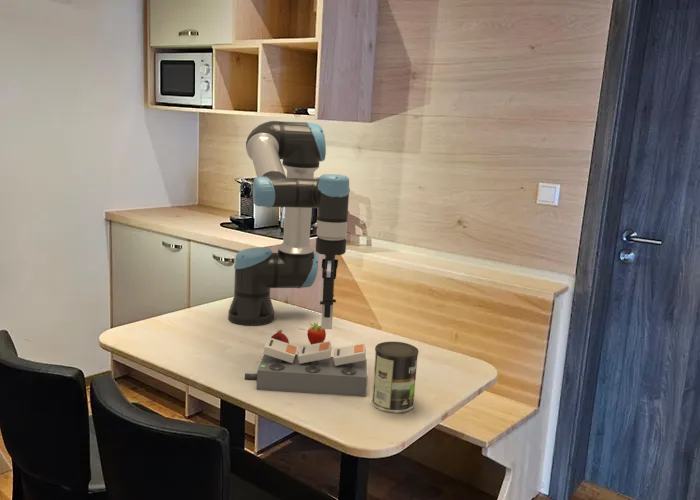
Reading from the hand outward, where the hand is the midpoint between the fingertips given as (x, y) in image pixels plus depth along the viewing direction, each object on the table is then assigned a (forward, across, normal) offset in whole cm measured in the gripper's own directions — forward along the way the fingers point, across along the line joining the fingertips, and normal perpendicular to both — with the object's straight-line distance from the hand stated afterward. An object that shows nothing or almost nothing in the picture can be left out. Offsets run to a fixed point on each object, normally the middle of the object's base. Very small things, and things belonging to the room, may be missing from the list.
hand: (326, 328), depth 162 cm
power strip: (+14, +2, -5) cm, 15 cm away
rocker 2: (+7, 0, -3) cm, 7 cm away
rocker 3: (+7, 0, +6) cm, 9 cm away
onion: (+14, -14, -14) cm, 24 cm away
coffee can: (+15, +11, +17) cm, 25 cm away
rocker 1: (+8, 0, -12) cm, 14 cm away
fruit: (+14, -23, -4) cm, 27 cm away
